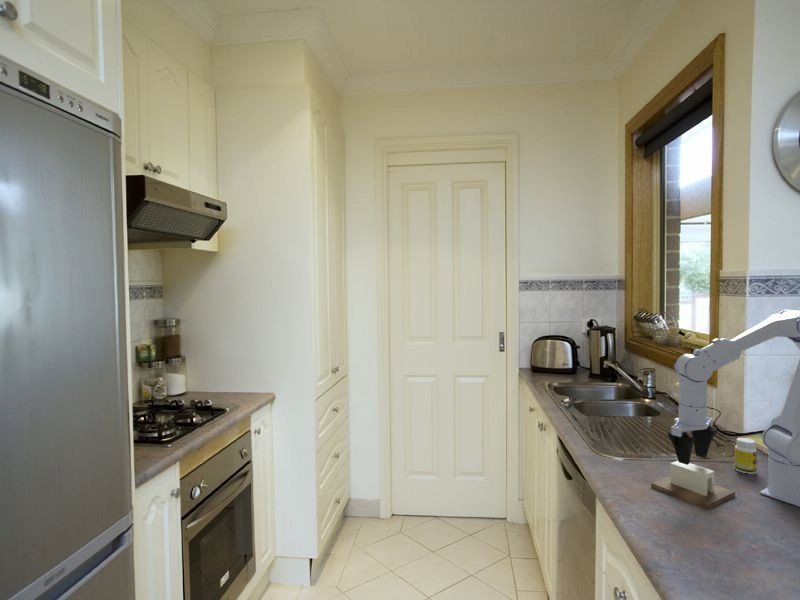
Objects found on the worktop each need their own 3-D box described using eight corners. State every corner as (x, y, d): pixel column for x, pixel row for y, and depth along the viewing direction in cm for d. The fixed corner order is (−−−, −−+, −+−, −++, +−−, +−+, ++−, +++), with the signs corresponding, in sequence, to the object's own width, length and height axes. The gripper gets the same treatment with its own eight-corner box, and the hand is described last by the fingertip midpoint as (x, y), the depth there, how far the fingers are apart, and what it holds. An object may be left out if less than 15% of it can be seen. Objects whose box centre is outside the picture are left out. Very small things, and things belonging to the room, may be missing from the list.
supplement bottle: (756, 476, 117) (757, 444, 117) (734, 471, 120) (734, 440, 120) (756, 469, 121) (756, 439, 121) (734, 465, 124) (734, 435, 124)
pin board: (734, 495, 107) (734, 482, 107) (707, 509, 101) (707, 495, 101) (678, 475, 118) (678, 463, 118) (651, 486, 112) (651, 474, 112)
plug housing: (714, 491, 107) (714, 471, 107) (705, 495, 105) (705, 474, 105) (679, 479, 114) (679, 459, 114) (670, 482, 112) (670, 463, 112)
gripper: (691, 396, 116) (691, 448, 116) (658, 405, 109) (658, 460, 109) (722, 402, 110) (721, 457, 110) (689, 412, 103) (689, 470, 103)
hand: (692, 459), depth 109 cm, fingers open, 7 cm apart
